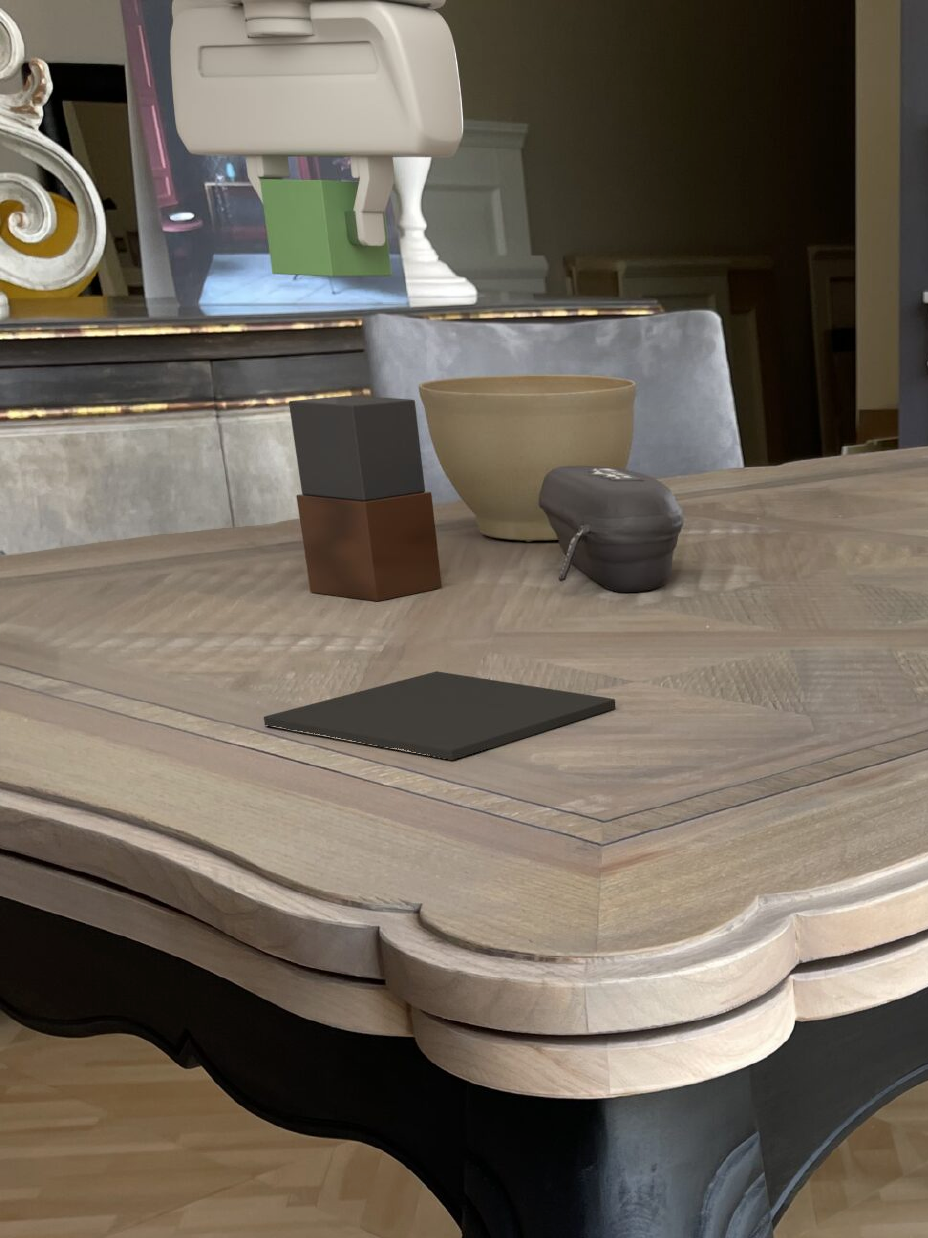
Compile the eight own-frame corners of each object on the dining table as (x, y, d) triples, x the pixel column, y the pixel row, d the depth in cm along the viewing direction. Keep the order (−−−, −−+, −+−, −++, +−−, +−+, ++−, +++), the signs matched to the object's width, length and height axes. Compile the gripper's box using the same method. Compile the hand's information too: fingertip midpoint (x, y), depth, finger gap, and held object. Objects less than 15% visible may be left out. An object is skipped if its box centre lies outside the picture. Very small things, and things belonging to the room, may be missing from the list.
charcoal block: (301, 494, 115) (287, 401, 113) (363, 486, 120) (352, 395, 117) (364, 501, 113) (352, 405, 110) (425, 492, 117) (415, 399, 114)
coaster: (264, 726, 87) (262, 716, 87) (437, 680, 96) (436, 670, 96) (452, 761, 82) (451, 750, 82) (616, 708, 91) (615, 698, 91)
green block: (272, 274, 109) (259, 179, 107) (332, 273, 113) (321, 182, 111) (332, 276, 107) (320, 180, 105) (392, 276, 111) (382, 182, 109)
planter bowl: (418, 525, 145) (401, 376, 139) (614, 515, 150) (604, 372, 145) (457, 555, 132) (439, 392, 127) (669, 543, 138) (660, 388, 132)
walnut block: (310, 592, 118) (295, 495, 115) (376, 579, 123) (363, 485, 120) (377, 601, 116) (364, 502, 113) (442, 588, 120) (431, 491, 117)
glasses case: (733, 575, 120) (688, 460, 115) (593, 644, 118) (542, 530, 114) (655, 534, 134) (612, 429, 129) (529, 595, 132) (481, 491, 128)
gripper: (125, -31, 105) (168, 240, 111) (387, -46, 96) (416, 248, 103) (211, -18, 109) (247, 240, 116) (468, -31, 101) (490, 249, 108)
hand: (329, 244), depth 109 cm, fingers closed on green block, 5 cm apart
